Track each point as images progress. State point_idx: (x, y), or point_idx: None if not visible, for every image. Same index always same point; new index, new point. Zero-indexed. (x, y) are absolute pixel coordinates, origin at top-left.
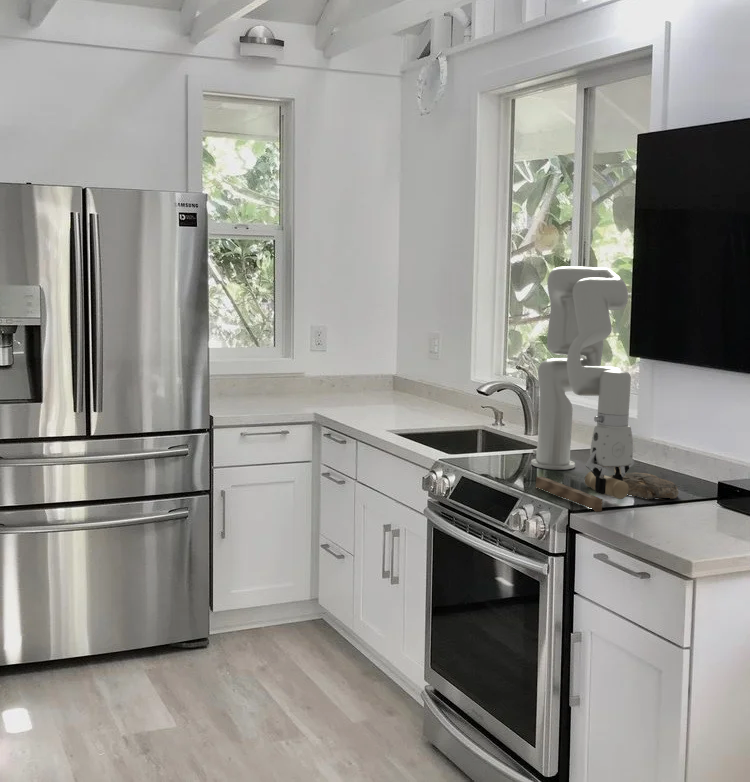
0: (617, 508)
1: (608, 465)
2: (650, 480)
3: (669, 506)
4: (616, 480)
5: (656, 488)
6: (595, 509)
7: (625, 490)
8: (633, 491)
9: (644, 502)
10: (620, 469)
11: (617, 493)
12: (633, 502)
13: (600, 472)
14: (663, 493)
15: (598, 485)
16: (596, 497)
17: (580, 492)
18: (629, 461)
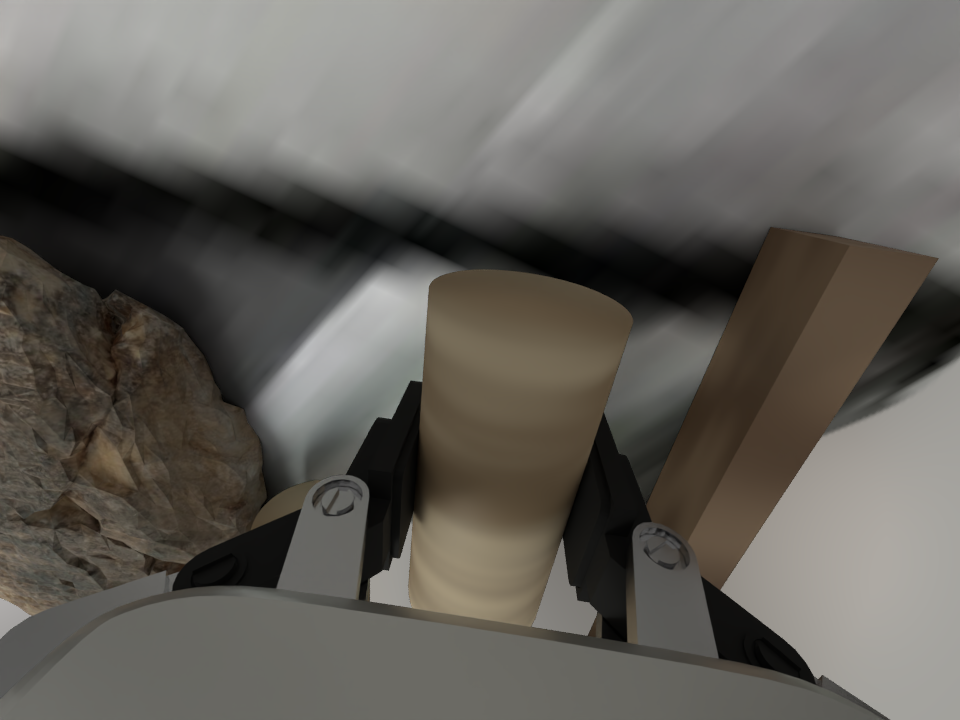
0: (570, 242)
1: (749, 691)
2: (14, 451)
3: (106, 89)
4: (545, 412)
5: (44, 324)
6: (850, 239)
7: (473, 288)
8: (218, 442)
9: (249, 285)
10: (360, 572)
11: (574, 296)
12: (328, 319)
13: (699, 607)
14: (27, 259)
15: (632, 487)
16: (822, 325)
17: (749, 494)
18: (130, 668)
